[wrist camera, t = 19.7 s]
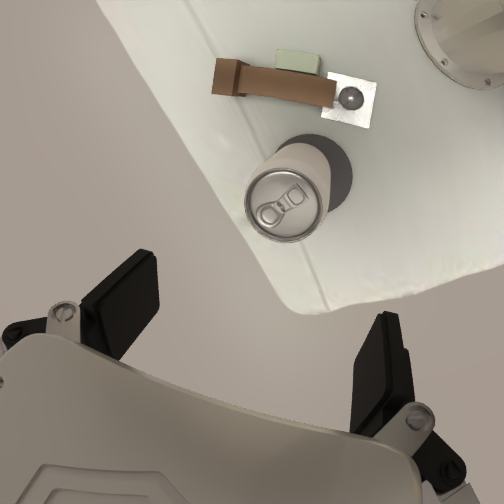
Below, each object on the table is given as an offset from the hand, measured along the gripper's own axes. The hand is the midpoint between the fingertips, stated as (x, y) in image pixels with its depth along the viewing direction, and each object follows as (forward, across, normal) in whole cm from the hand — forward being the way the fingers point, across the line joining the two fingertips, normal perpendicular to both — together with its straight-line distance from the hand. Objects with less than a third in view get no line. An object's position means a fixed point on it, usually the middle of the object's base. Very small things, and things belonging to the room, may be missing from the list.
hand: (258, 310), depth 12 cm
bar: (+22, +4, -9) cm, 25 cm away
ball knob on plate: (+23, -2, -9) cm, 25 cm away
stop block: (+23, +3, -12) cm, 26 cm away
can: (+23, +1, 0) cm, 23 cm away
